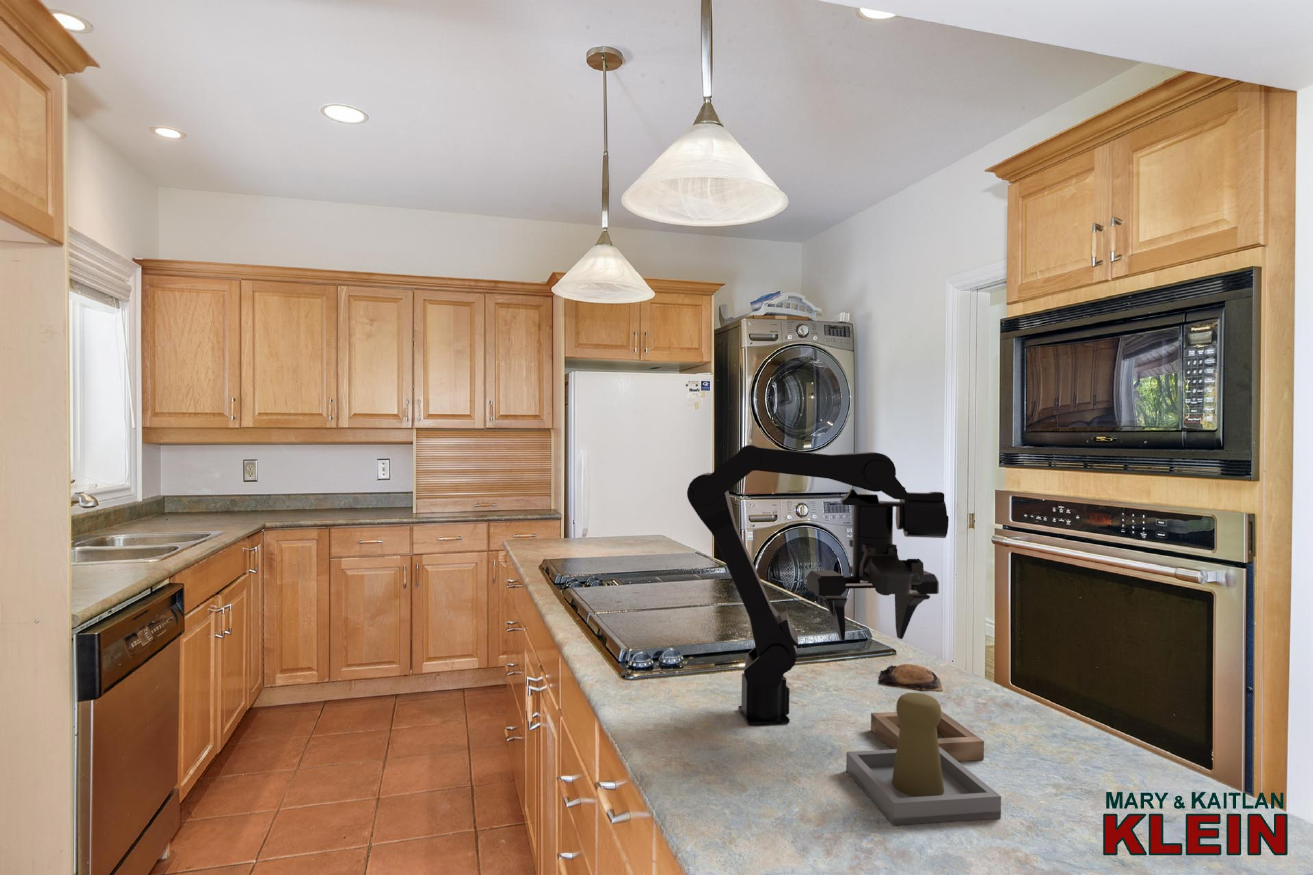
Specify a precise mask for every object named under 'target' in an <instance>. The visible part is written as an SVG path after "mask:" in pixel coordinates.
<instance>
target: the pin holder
mask: <svg viewBox="0 0 1313 875" xmlns="http://www.w3.org/2000/svg"><path fill="white" fill-rule="evenodd" d="M900 724H901V721H900V719H899V717H898V715H897V711H887V712H871V713H870V731H872V732H873V733H874V734H875V735H876V736H877V737H878V738H879V739H880V740H881V741H882V742H884V744H886V746H888V748H890V749H897V744H898V738H899V731H900ZM936 728H937V734H939V735H940V736H941V738H938V744H939V747H941V748H942V749H943V750H944V751H946V752H947V753H948V754H949V755H950V756H952V757H953V758H954V759H955V760H957V761H958V762H963V761H965V762H967V761H981V760H982V761H983V760H984V759H985V758H984V757H985V740H983V739H982V738H980V737H979V736H977V735H976V734H974V733H973V731H970V730H969V729H967V728H966V727H965V726H964V725H962V724H960V722H958V721H957V720H955V718H952V717H951V716H949V715H948V714H946V713H945V712H944V711H942V710H941V720H940V722H939V724H938V725H937V726H936Z"/></svg>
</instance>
